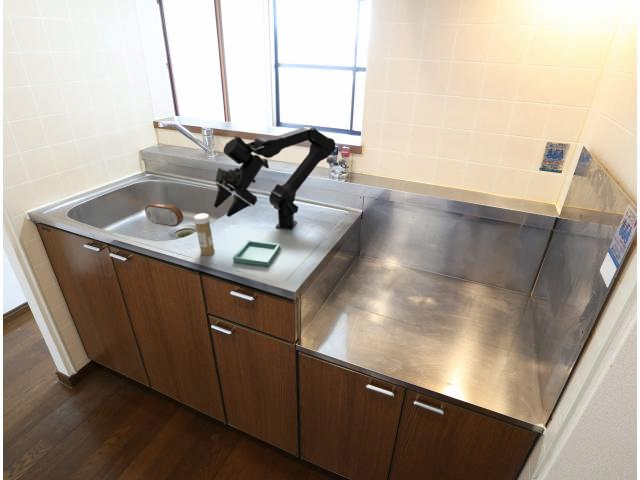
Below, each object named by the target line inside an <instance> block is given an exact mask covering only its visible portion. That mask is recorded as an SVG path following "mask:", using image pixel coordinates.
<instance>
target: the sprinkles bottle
mask: <svg viewBox="0 0 640 480" xmlns="http://www.w3.org/2000/svg"><path fill="white" fill-rule="evenodd" d="M193 221H194V224H195V228H196V234H197V239H198V244H199V249H200V254H201V255H202V256H211V255H214V253H215V247H214V242H213V241H214V240H213V236H212V230H211V225H210V224H211V223H210V215H209V214H208V213H204V212H203V213H198V214H196V215H194V216H193Z"/></svg>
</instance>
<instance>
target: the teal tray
mask: <svg viewBox="0 0 640 480" xmlns="http://www.w3.org/2000/svg"><path fill="white" fill-rule="evenodd" d="M280 251H281V244H280V243H275V242H266V241H259V240H252V239H251V240H250V239H247V241H246V242H245V243H244V244H242V246H241V247H240V249H238V250H237V252H236V254H235V255H234V256H233V257H232V261H233V264H237V265H238V264H240V265H244V266H245V265H246V266H253V267H261V268H269V267H270V265H271V264H272V262H273V261H274V260H275V258H276V257H277V256H278V254H279V253H280Z"/></svg>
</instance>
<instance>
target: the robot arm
mask: <svg viewBox="0 0 640 480" xmlns="http://www.w3.org/2000/svg"><path fill="white" fill-rule="evenodd" d="M307 141H308V142H309V143H310V146H309V152H308V154H307V155H306V156H305V158H304V159H303V161H302V162H301V163H300V164H299V166H298V167H297V168H296V170H295V171H293V173H292V175H290V177H289V178H288V179H287V180H286V182H285V183H283V184H279V183H277V184H276V185H275V187H274V188H273V189H272V190H271V191H270V194H269V196H268V199H269V203H270V205H271V206H273V208H274V209H276V210H277V215H278V216H277V217H278V223H277V224H276V225H275V229H283V230H289V231H290V230H293V229H294V228H295V226H296V225H297V223H298V222H297V220H295V217H294V215H295V214H297V213H298V211H299V206H297V205H296V204H295V203H294V202H295V200H296V194H297V191H298V190H299V189H300V188H301V186H302V185H303V184H304V182H306V180H307V178H308V177H309V176H310V175H311V173H312V172H313V171H314V170H315V168H316V167H317V166H318V164H319V163H320V162H322V161H323V160H327V158H329V157H330V156H331V155H332V154H333V153H334V152H335V150H336V141H335V139H333V138H332V137H328V136H326V135H324V134H323V133H322V132H320V131H319V130H317V128H315V127H313V126H309V125H306V126H304V127H301V128H299V129H295V130H292V131H290V132H288V131H287V132H285V133H283V134H279V135H266V136H265V135H264V136H258V137H256V138H255V139H254V140H253V141H250V142H248V143H246V142H245V141H244V140H243V139H242V138H241V137H240V136H238V135H236V136H235V137H234V138H233V139H231V140H229V141H228V142H226V144H225V146H224V147H223V154H225V156H227V157H228V158H229V159H231V160H232V161H233V162H235V163H236V164H237V165H240V164H241V165H240V167H239V168H238V167H235V168H234V169H232V168H230V169H228V168H223V167H218V168H217V172H216V175H215V180H214V181H215V185H216V188H217V194H216V198H215V201H214V204H213V207H214V208H216V209H217V208H218V207H219V206H221V205H222V204H223V203H224V202H225V201H226V200H228V199H229V198H230V197H231V196H232V194H233V192H235V193H234V194H233V202H232V204H231V205H230V207H229V209H228V211H227V213H226V217H228V218H231V217H232V216H233V215H235V214H236V213H238V212H240V211H242V210H244V209H246V208H248V207H251V206H255V204H256V203H257V202H258V197H257V195H255V194H254V193H252V192H250V191H249V190H248V189H249V187H250V186H251V184H252V183H254V184H255V183H256V182H257V180H256V179H255V178H256V176H258V174H259V172H260V171H261V169H262V168H266V169H270V167H269V166H270V165H269V160H268V159H271V158H273V157H274V156H276V155H278V154H280V152H281V151H283V150H284V149H286V148H290V147H292V146H296V145H298V144H300V143H304V142H307ZM261 156H262V157H264V158H262V157H261Z"/></svg>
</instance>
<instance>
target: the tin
mask: <svg viewBox="0 0 640 480" xmlns="http://www.w3.org/2000/svg"><path fill="white" fill-rule="evenodd" d="M144 212H145V215H146V218H147V220H149V221H150V222H151V223H152V224H155V225H161V226H167V227H177V226H179V225H180V224H182V223H183V221H184V215H183V212H182V211H181V209H180V208H179V207H177V206H176V205H175V204H171V203H170V204H169V203H163V202H156V201H152V202H150V203H149V204H148V205H146V207H145V209H144Z"/></svg>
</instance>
